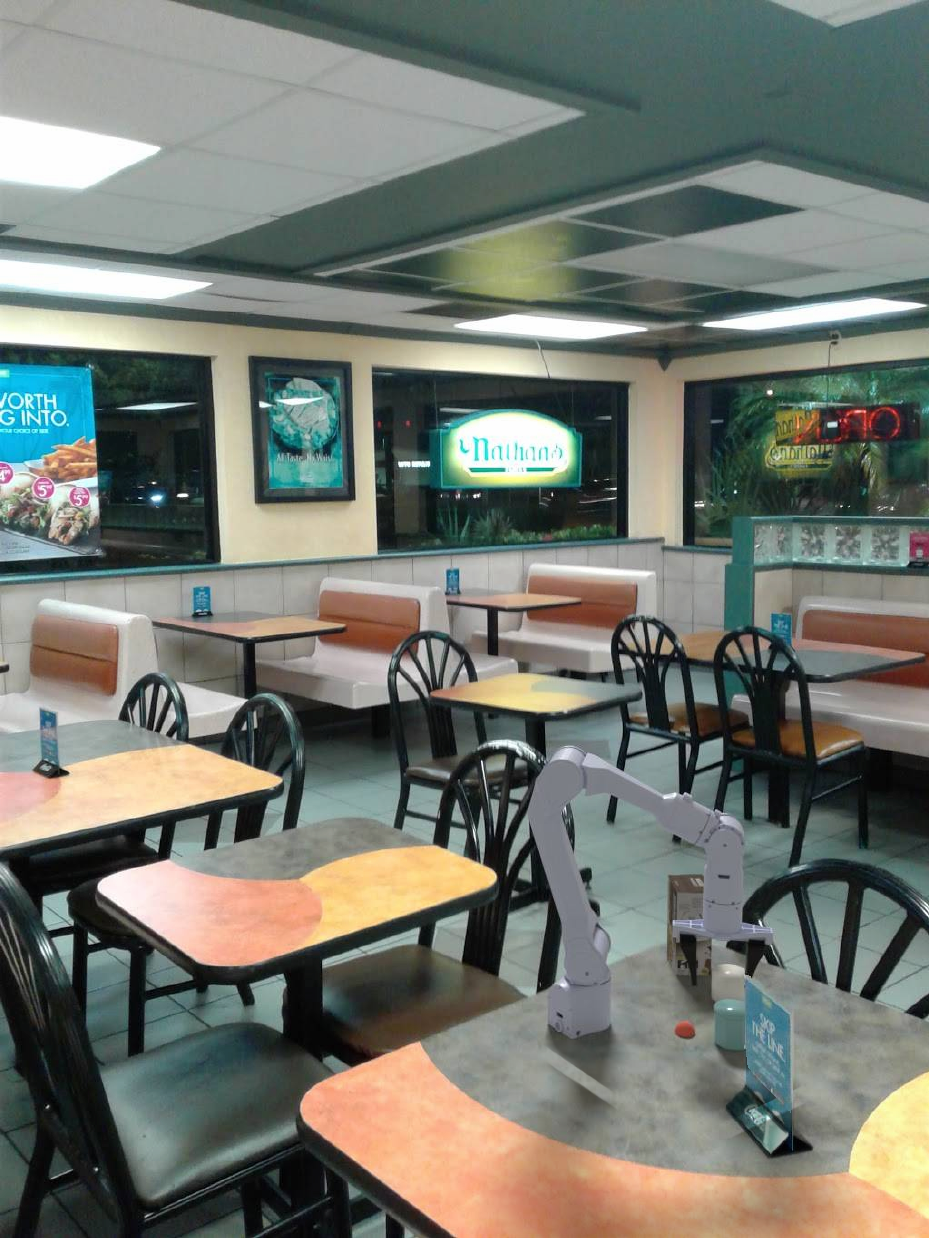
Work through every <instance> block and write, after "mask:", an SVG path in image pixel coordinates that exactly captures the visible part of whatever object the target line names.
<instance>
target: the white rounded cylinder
mask: <svg viewBox="0 0 929 1238" xmlns="http://www.w3.org/2000/svg"><path fill="white" fill-rule="evenodd" d="M744 974H745V967H742V966H739V965H735V964H729V963H723V964H717V965H715V966H713V967H711V1000H713V1001H714V1002H715V1003H716V1002H717V1001H720V1000H724V999H734V1000H740V1001H743V1002H744V982H743V975H744Z"/></svg>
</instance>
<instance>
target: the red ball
mask: <svg viewBox="0 0 929 1238" xmlns="http://www.w3.org/2000/svg"><path fill="white" fill-rule="evenodd" d="M674 1033H675V1034H676V1035H677V1036H679V1037H681V1038H682V1037H683V1038H689V1037H693V1036H694V1035H695V1034H696V1031H695V1027H694V1026H693V1024H691V1023H690V1022H689V1021H686V1020H684V1021H680V1022H678V1023H677V1024H676V1026H675V1028H674Z"/></svg>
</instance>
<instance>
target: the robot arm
mask: <svg viewBox="0 0 929 1238" xmlns="http://www.w3.org/2000/svg"><path fill="white" fill-rule="evenodd" d="M583 789H585V793H584V797H591V796H596V795H600V794H604V793H606V794H608V795H611V796H613V797H615V798H617V799H619V800H622V801H623V802H626V803H628V804H630V805H633V806H635V807H636V808H639V809H641V810H643V811H645V812H648V813H650V814H652V815H654V817H655V819H656V823H657V825H658V827H660V828H661V829H663V830H664V831H667V832H669V833H671V834H673V835H675V836H677V837H679V838H681V839H683V840H685V841H686V842H688V843H690V844H692V845H694V846H696V847H700V848H704V852H705V854H706V863H705V865H704V867H703V869H704V870H703V876H704V896H703V919H702V920H685V921H677V920H673V933H672V937H676V938H679V937H680V947H681V949H682V951H683V953H684V955H685V958H686V960H687V963H688V966H689V969H690V973H691V975H690V978H691V986H694V987H696V986H697V985H698V975H697V968H696V949H697V946H696V942H697V939H696V937H698V938H711V939H712V940H715V941H718V942H727V943H728V942H730V941H737V942H739V941H740V942H745V948H746V949H745V953H746V954H745V967H744V969H745V975H749V976H751V978H752V979H753V976H754V974H755V972H756V969H757V967H758V965H759V963H760V961H762V958H763V957H764V955H765V952H766V946H765V945H767V946H772V945H773V941H774V938H773V937H774V932H773V928H772V927H767V926H760V925H757V924H756V925H755V924H750V923H747V922H743V906H744V905H743V904H744V903H743V902H744V901H743V900H744V875H745V873H744V868H743V866H744V855H745V853H746V850H747V845H746V841H745V840H746V838H745V831H744V827H743V826H742V823H740V822H741V821H739V820H738V819H737V818H735V817H734V816H733V815H732V814H730V813H727V812H724V813H723V812H722V811H720V810H718V809H715V810H714V811H713V810H712V809H710V808H708V807H706V806H704V805H702V804H700V803H698V802H697V801H694V800H693V795H692V794H689V793H688V792H684V793H683V794H680V793H679V792H672V793H668V794H663V793H661V792H660V791H657V790H656V789H654V788H652V787H651V786H649V785H647V784H646V783H644V782H642V781H641V780H638V779H637V778H635V777H633V776H632V775H630V774H628V773H626V772H624V771H623V770H621V769H619V768H618V767H616V766H614V765H612V764H610V763H609V762H607V761H605V760H604V759H602V758H601V757H599V756H597V754H593V753H590V752H587V753H586V752H585V751H584V750H583V749H581V748H579V747H577V746H575V745H574V746H573V745H566V746H562V747H559V748H558V749H557V750H555V751H554V753H553V754H552V755H551V757H550V758H548V760H547V762H546V763H545V764H544V766H543V768H542V770H541V772H540V773H539V775H537V777H536V779H535V782H534V788H533V791H532V795H531V797H530V801H529V803H528V808H527V811H526V813H527V818H528V822H529V824H530V827H531V830H532V831H531V832H532V835H533V837H534V841H535V843H536V844H535V845H536V846H537V850H538V852H539V857H540V859H541V863H542V865H543V868H544V872H545V875H546V878H547V882H548V885H549V888H550V891H551V895H552V897H553V900H554V903H555V906H556V910H557V913H558V916H559V918H560V922H561V934H562V935H561V936H562V937H561V938H562V944H563V947H564V958H563V968H564V971H563V975H562V977H561V978H560V979H559V980H558V981H557V982H555V983H553V984H552V985H551V986H550V987H549V989H548V993H547V1025H549V1026H551V1027H553V1028H554V1029H555V1030H556V1032H558V1033H561V1034H562V1035H565V1036H566V1037H568V1038H569V1039H570V1040H572V1039H573V1040H575V1039H578V1038H579V1037H582V1036H584V1035H588V1034H594V1033H599V1032H602V1031H605V1030H607V1029H608V1028H609V1027H610V1026H611V1023H612V1022H611V1021H612V1020H611V1019H612V1017H611V1016H612V1014H611V1013H612V1010H611V1009H612V1008H611V1007H612V972H611V971H612V970H610V967H609V966H608V964H607V959H608V956H609V953H610V950H611V949H612V948H611V947H612V940H611V937H610V934H609V932H608V931H607V930H606V928H604V927H603V926H602V925H601V922H600V921H599V918H598V916H597V913H596V912H595V911H594V910H593V909H592V907H591V903H590V901H589V897H588V895H587V892H586V889H585V885H584V883H583V879H582V876H581V873H580V869H579V866H578V864H577V861H576V857H575V854H574V850H573V847H572V844H571V840H570V839H569V834H568V831H567V828H566V826H565V825H566V824H565V822H564V818H563V816H562V813H563V811H564V809H565V808H566V806H567V804H569V803H570V802H571V801H573V800H574V799H575V798H576V797H577V796H578V795H579V794H580V793H581V791H582V790H583ZM744 988H745V985H744Z"/></svg>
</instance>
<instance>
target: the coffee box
mask: <svg viewBox="0 0 929 1238" xmlns="http://www.w3.org/2000/svg"><path fill="white" fill-rule="evenodd" d="M703 896H704V874H701V873H700V874H698V873H697V874H695V873H694V874H693V873H691V874H668V875H667V910H666V912H667V915H666V916H667V918H666V919H667V921H666V922H667V923H666V924H667V929H666V930H667V931H666V942H667V943H666V961H668V962H669V964H670V966H671V968H672V970H673V973H674V975H675V976H691V973H690V969H689V966H688V963H687V960H686V958H685V955H684V953H683V951H682V949H681V947H680V937H679V938H676V937H672V933H673V920H677V921H685V920H702V919H703ZM696 939H697V942H696V946H697V949H696V968H697V976H712V949H713V947H712V946H713V945H712V941H713V939H711V938H698V937H696Z"/></svg>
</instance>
